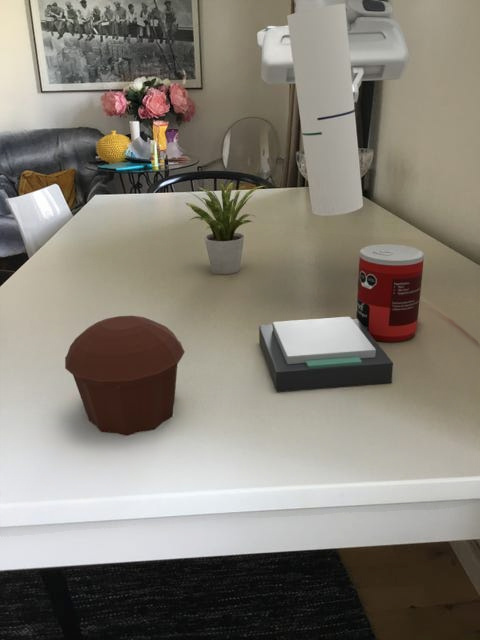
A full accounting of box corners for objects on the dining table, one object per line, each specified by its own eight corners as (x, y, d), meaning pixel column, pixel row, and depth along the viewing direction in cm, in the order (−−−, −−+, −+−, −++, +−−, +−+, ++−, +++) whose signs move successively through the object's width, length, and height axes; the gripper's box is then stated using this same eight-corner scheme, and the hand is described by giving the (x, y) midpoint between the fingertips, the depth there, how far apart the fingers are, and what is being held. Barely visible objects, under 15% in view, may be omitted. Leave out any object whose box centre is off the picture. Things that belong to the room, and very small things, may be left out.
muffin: (190, 383, 64) (185, 300, 60) (186, 439, 54) (179, 344, 50) (85, 387, 64) (73, 305, 60) (61, 445, 54) (44, 350, 50)
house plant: (251, 254, 113) (249, 170, 107) (282, 272, 101) (282, 179, 95) (182, 263, 108) (176, 176, 102) (206, 284, 96) (201, 187, 90)
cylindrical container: (361, 212, 76) (342, 2, 66) (309, 218, 78) (282, 15, 68) (364, 198, 82) (347, 5, 72) (315, 204, 84) (291, 17, 74)
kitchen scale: (356, 335, 75) (357, 311, 74) (391, 382, 63) (393, 354, 62) (259, 343, 74) (258, 318, 72) (276, 392, 62) (276, 363, 60)
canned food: (360, 317, 81) (365, 242, 76) (419, 323, 78) (426, 246, 74) (350, 338, 74) (354, 257, 70) (413, 346, 71) (421, 262, 67)
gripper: (256, 8, 78) (262, 84, 73) (403, 2, 78) (420, 78, 73) (254, 46, 84) (261, 119, 78) (391, 40, 84) (407, 113, 79)
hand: (339, 99), depth 76 cm, fingers closed on cylindrical container, 2 cm apart
